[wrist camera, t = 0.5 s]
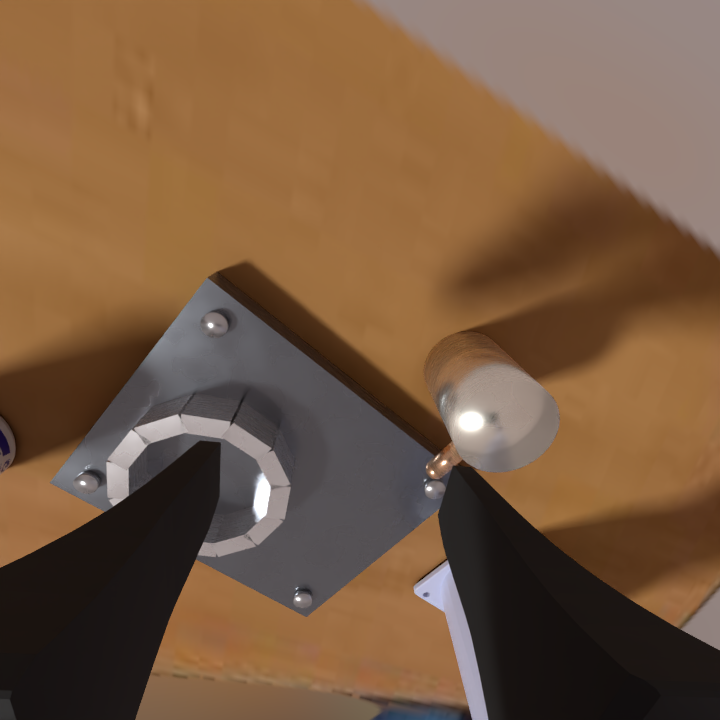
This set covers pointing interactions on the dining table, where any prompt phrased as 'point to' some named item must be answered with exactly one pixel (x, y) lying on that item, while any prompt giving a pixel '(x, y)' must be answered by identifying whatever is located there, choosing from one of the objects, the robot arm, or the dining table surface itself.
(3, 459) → the energy drink
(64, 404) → the dining table surface
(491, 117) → the dining table surface
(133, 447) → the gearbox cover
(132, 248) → the dining table surface
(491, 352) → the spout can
